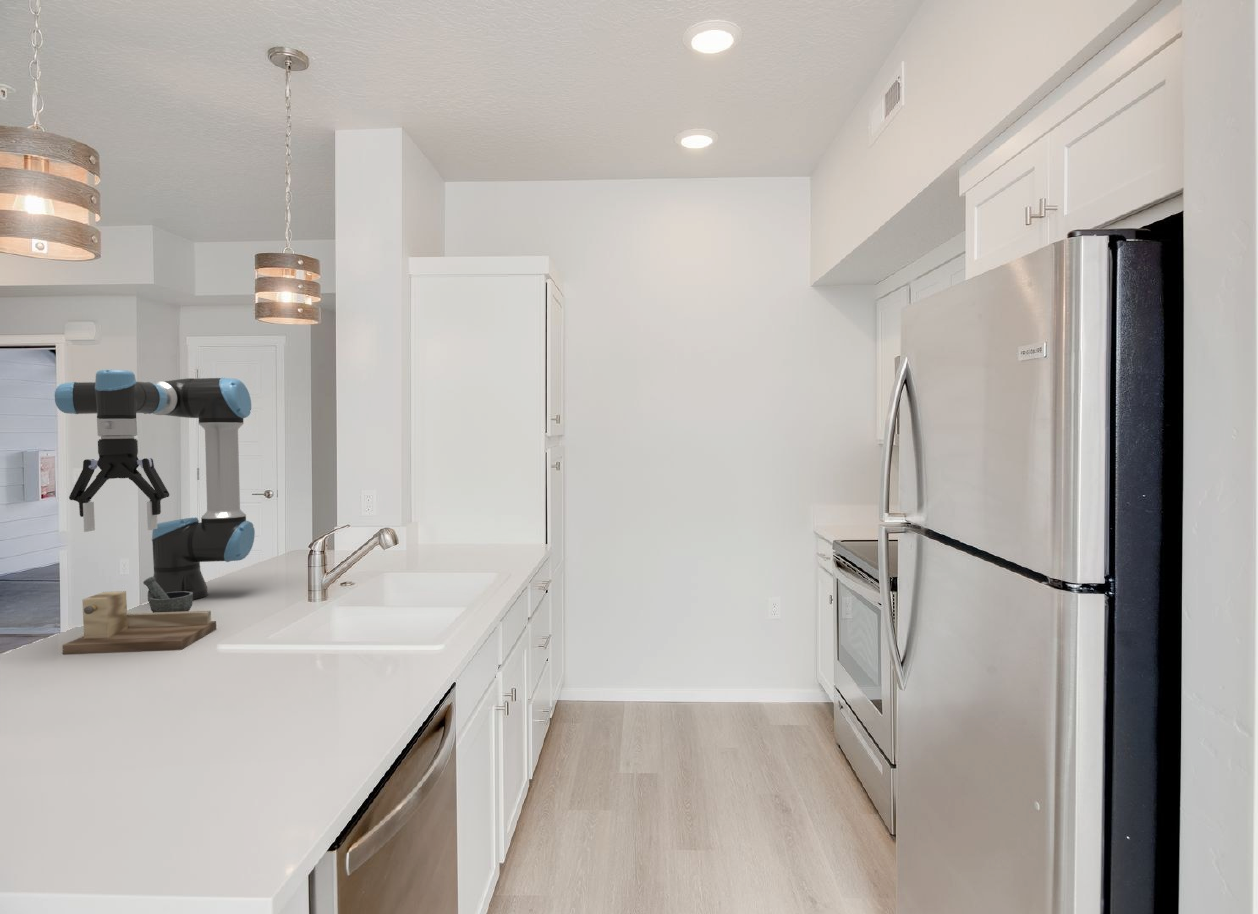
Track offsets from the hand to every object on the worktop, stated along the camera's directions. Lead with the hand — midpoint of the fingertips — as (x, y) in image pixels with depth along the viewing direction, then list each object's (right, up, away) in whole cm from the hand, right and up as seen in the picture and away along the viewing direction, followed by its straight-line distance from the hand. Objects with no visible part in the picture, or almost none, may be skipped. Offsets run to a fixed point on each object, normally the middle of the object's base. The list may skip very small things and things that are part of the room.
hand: (121, 530), depth 169 cm
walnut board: (+3, -26, +4) cm, 27 cm away
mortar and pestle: (-2, -26, +21) cm, 33 cm away
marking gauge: (-6, -25, +3) cm, 25 cm away
